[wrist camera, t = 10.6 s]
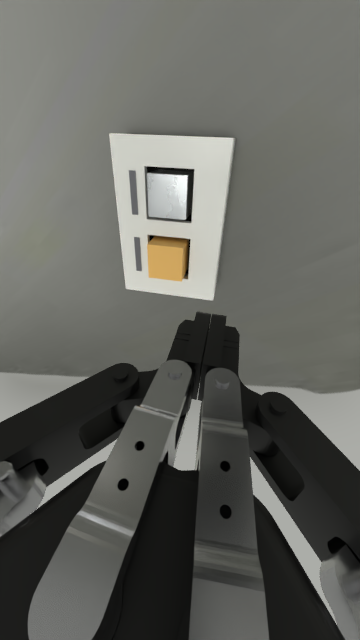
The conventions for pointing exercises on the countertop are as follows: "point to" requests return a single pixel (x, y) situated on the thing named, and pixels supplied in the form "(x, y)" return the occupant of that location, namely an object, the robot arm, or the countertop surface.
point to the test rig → (136, 227)
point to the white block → (170, 194)
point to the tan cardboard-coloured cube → (167, 258)
